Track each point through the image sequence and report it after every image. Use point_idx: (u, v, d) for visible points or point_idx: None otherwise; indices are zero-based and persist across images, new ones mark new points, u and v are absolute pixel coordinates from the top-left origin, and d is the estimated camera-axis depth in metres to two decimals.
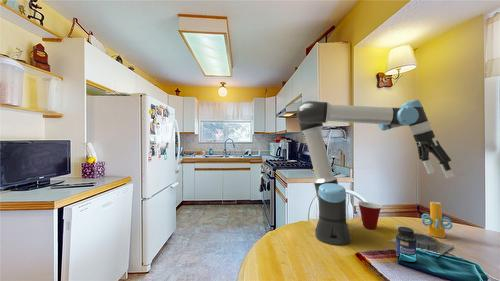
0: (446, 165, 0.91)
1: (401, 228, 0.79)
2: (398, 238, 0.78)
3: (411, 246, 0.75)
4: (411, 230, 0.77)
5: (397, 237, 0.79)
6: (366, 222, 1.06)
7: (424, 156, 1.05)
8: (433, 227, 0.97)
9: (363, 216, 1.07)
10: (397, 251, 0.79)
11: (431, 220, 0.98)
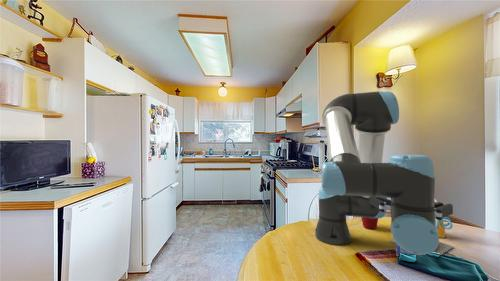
0: None
1: None
2: None
3: None
4: None
5: None
6: (366, 222, 1.06)
7: None
8: None
9: None
10: (397, 251, 0.79)
11: None
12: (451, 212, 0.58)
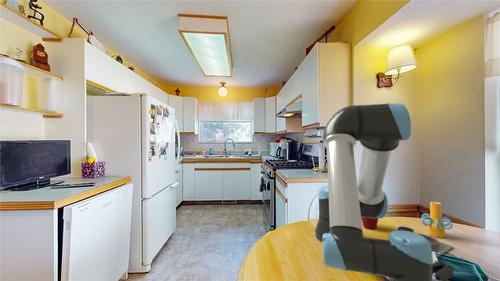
0: None
1: (401, 228, 0.79)
2: None
3: None
4: (411, 230, 0.77)
5: None
6: (366, 222, 1.06)
7: None
8: (433, 227, 0.97)
9: None
10: None
11: (431, 220, 0.98)
12: (451, 275, 0.59)
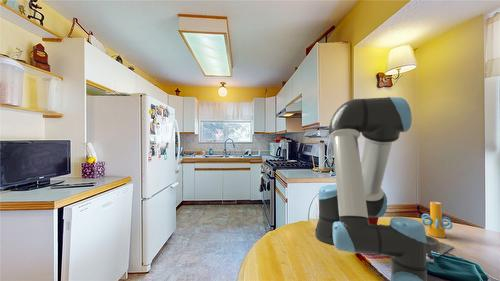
0: None
1: None
2: None
3: None
4: None
5: None
6: None
7: None
8: (433, 227, 0.97)
9: None
10: None
11: (431, 220, 0.98)
12: None
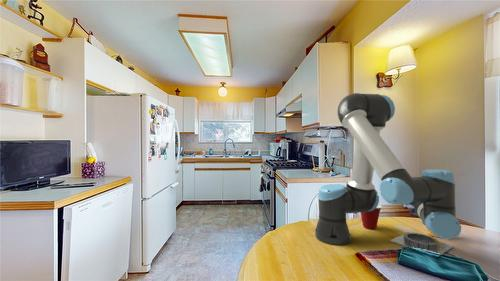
0: None
1: None
2: None
3: None
4: None
5: None
6: (366, 222, 1.06)
7: None
8: None
9: (363, 216, 1.07)
10: (412, 210, 0.89)
11: None
12: None
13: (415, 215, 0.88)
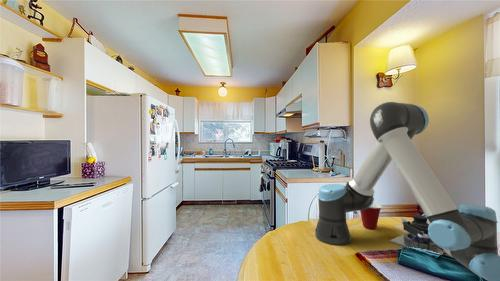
0: None
1: (417, 216, 0.90)
2: None
3: None
4: (425, 217, 0.89)
5: None
6: (366, 222, 1.06)
7: None
8: None
9: (363, 216, 1.07)
10: (415, 237, 0.88)
11: None
12: None
13: None
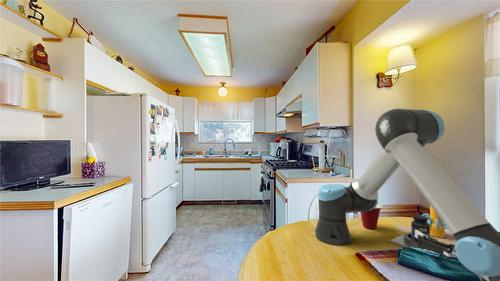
0: None
1: (417, 217, 0.89)
2: (417, 226, 0.88)
3: (428, 231, 0.87)
4: (425, 217, 0.88)
5: (415, 225, 0.89)
6: (366, 222, 1.06)
7: None
8: (433, 227, 0.97)
9: (363, 216, 1.07)
10: (415, 237, 0.88)
11: (431, 220, 0.98)
12: None
13: None
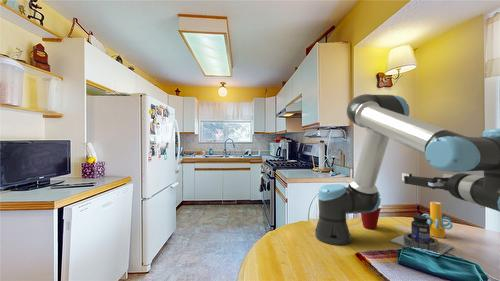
0: None
1: (417, 217, 0.89)
2: (417, 226, 0.88)
3: (428, 231, 0.87)
4: (425, 217, 0.88)
5: (415, 225, 0.89)
6: (366, 222, 1.06)
7: None
8: (433, 227, 0.97)
9: (363, 216, 1.07)
10: (415, 237, 0.88)
11: (431, 220, 0.98)
12: None
13: None
